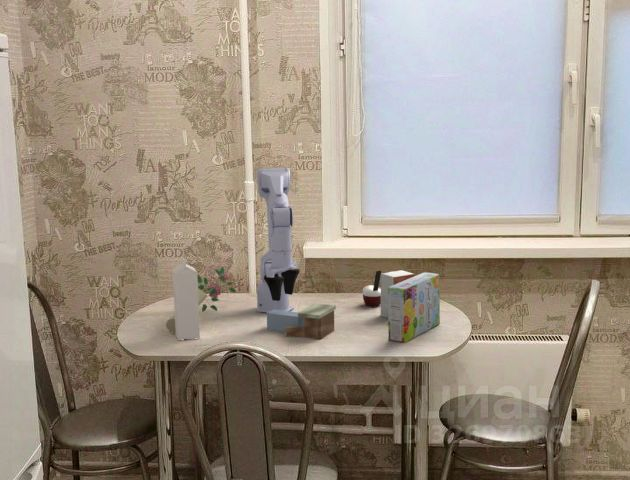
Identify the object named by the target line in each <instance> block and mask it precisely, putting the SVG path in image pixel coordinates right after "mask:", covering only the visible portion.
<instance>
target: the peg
mask: <svg viewBox="0 0 630 480" xmlns="http://www.w3.org/2000/svg"><path fill="white" fill-rule="evenodd" d="M298 312H299V311H291V310H290V311H281V310H272V311H270V312H268V313H267V312H266V330H267V329H268V331H275V330H276V331H275V332H284V333H286V326H297V327H305V323H304V317H299V316H298Z"/></svg>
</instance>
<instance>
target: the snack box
mask: <svg viewBox="0 0 630 480" xmlns="http://www.w3.org/2000/svg"><path fill="white" fill-rule="evenodd" d="M440 294H441V293H440V273H433V272H422V273H420V274H416V275H414V277H412V278H409V279H407V280H405V281H402V282H400V283H397V284H395V285H392V286H390V287H388V329H387V330H388V341H393V342H398V343H406V342H409V341H410V340H412V339H414V338H417V337H418V336H419V335H422V334H423V333H425V332H427V331H429V330H431V329H433V328H434V327H437V326H438V325H440V323H441V315H440V314H441V313H440V311H441V309H440V305H441V304H440V303H441V302H440V301H441V299H440V296H441V295H440Z"/></svg>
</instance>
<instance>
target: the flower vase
mask: <svg viewBox="0 0 630 480" xmlns="http://www.w3.org/2000/svg"><path fill="white" fill-rule="evenodd" d="M214 271H215V273H216V274H217V275H218V279H219V280H220V281H219V282H218V283H217V282H215V283H214V282H212V283H210V284H209V280H208V279H207V277H204V278H203V280H202V277H201V276H200V275H199V274H197V281H198V284H200V285H198V305H199V306H200V305H201V304H202V303H203V302H204V301H206V303H205V304H202V308H201V312H202V313H203V312H205V311H206V310H207V309H208V305H209V306H210V309H212V310H213V311H216V312H218V308H217V307H216V305H215V304H212V305H210V303H209V302H208V301H209V300H207V298H208V297H210V298H211V299H210V301H212V302H218V301H220V299H218V298H219V296H221V295H222V293H221V292H222V290H221V283H222V282H223V283H226V282H227V281H228V280H229V276H228V274H227V273H225V268H224V266H221V268H220V270H219V269H217V268H216V269H214ZM202 283H204V285H205V286H204V285H203V284H202ZM207 284H209V285H208V286H207ZM232 284H233V282H231V281H229V282H227V285H226V286H223V285H222V287H223V288H226V289H228V290H230V292H233V293H235V294H237V293H238V292H237V290H236V289H235V288H234V287H230V288H227V286H230V285H232ZM206 286H207V287H208V288H205V287H206ZM206 290H207V292H206ZM204 291H205V292H204ZM207 303H208V305H207ZM166 328H167V330H168V332H170V333H172V332H173V333H172V334H174V333H176V330H175V313H174V314H173V315H172V316H171V318H169V319H168V320H167V322H166Z"/></svg>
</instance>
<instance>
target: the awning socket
mask: <svg viewBox="0 0 630 480" xmlns="http://www.w3.org/2000/svg"><path fill="white" fill-rule="evenodd" d="M336 309H337V306H336V305H333V304H327V303H326V304H325V303H316V302H314V303H313V304H311V305H309V306H307V307H306V308H304V309H302V310H300V311H297V312H298V316H299V317H304V323H305V327H297V326H286V332H285V336H286V337H303V338H310V339H317V340H322V339H324V338H325V337H327V336H328V335H329V334H331V333H333V332H334V331H335V310H336Z"/></svg>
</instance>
